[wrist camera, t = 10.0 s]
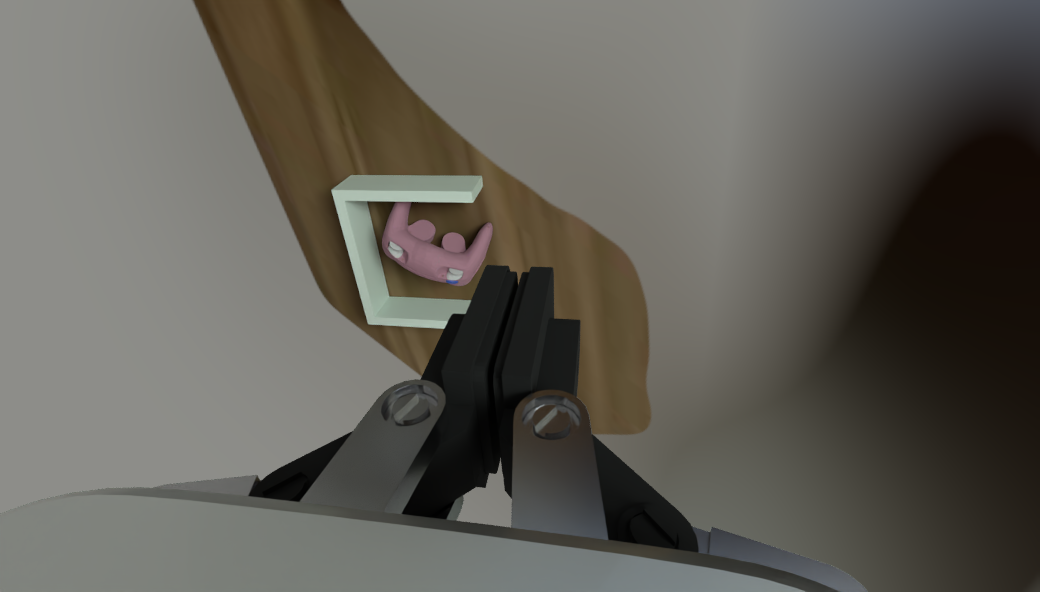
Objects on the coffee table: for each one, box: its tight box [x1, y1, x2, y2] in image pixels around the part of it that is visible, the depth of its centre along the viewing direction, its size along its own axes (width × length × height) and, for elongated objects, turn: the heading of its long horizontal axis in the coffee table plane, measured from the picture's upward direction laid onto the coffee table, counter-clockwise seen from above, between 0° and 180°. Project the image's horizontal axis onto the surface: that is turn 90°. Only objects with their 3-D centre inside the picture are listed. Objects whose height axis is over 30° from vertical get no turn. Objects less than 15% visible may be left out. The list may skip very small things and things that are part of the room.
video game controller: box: [382, 202, 493, 286], centre depth 46 cm, size 10×5×7 cm, turn 68°
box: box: [331, 175, 483, 329], centre depth 48 cm, size 15×13×4 cm
